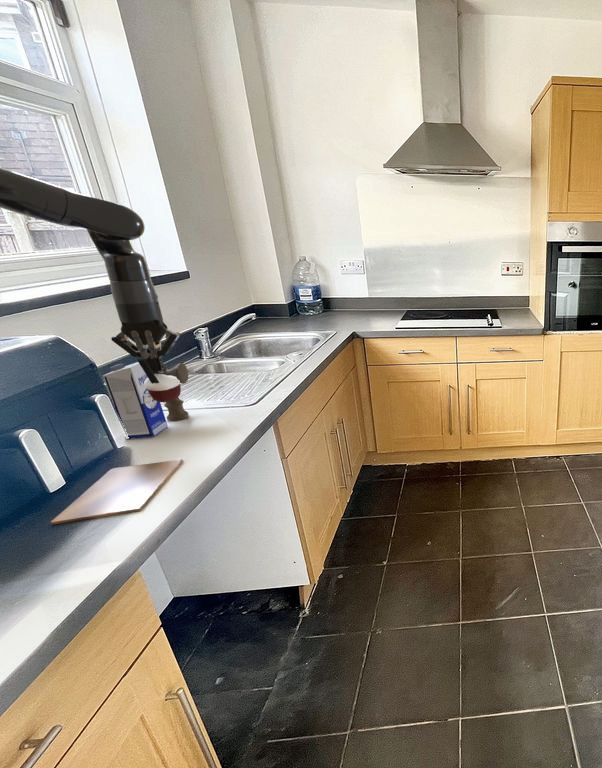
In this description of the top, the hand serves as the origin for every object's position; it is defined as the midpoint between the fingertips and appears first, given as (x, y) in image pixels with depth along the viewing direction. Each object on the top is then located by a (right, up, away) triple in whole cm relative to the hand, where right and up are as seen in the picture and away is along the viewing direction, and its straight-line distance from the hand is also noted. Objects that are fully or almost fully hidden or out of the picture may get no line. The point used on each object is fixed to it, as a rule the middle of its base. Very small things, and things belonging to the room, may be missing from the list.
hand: (156, 372), depth 100 cm
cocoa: (+1, -7, +2) cm, 7 cm away
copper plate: (+3, -25, -11) cm, 28 cm away
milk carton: (-15, -16, +14) cm, 26 cm away
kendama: (-14, -13, +24) cm, 30 cm away
